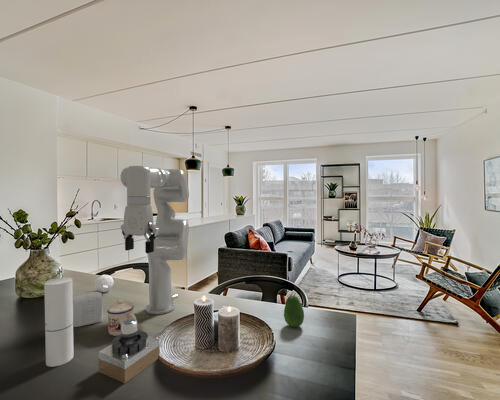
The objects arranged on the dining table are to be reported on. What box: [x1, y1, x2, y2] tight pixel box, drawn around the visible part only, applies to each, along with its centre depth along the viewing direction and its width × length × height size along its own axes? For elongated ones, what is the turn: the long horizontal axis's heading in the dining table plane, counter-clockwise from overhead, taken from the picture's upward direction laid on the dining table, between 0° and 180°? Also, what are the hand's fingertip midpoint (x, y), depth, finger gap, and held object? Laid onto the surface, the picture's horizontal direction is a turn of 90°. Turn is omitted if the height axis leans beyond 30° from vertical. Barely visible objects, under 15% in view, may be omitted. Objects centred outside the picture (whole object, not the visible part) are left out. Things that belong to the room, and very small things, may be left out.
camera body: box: [98, 329, 161, 384], centre depth 83 cm, size 13×11×8 cm
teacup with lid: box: [106, 298, 137, 337], centre depth 103 cm, size 12×9×12 cm
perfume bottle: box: [93, 274, 115, 293], centre depth 143 cm, size 9×9×12 cm
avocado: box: [283, 295, 305, 328], centre depth 106 cm, size 8×8×12 cm
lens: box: [121, 318, 139, 344], centre depth 83 cm, size 5×5×7 cm
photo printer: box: [73, 291, 104, 328], centre depth 109 cm, size 10×4×12 cm, turn 123°
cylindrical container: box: [43, 276, 75, 368], centre depth 85 cm, size 7×7×25 cm
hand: (139, 251), depth 94 cm, fingers open, 9 cm apart
